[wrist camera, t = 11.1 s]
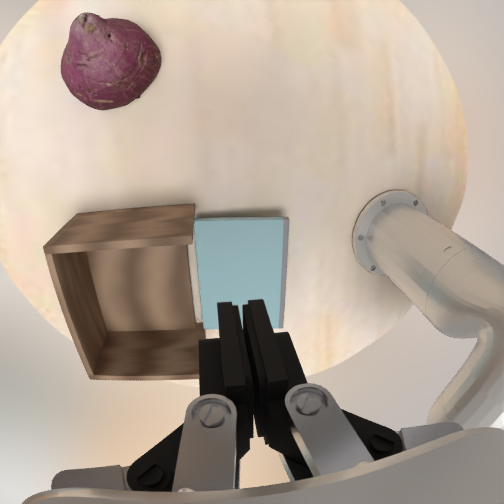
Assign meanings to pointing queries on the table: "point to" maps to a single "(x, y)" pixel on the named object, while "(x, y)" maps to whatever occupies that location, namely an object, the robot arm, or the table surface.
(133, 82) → the vegetable
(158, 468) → the robot arm
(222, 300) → the light blue panel
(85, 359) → the box
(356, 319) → the table surface
